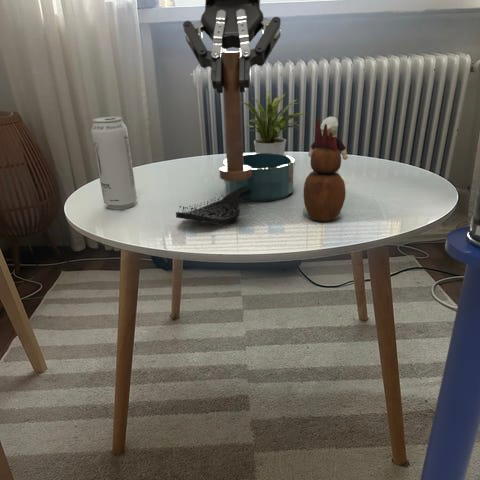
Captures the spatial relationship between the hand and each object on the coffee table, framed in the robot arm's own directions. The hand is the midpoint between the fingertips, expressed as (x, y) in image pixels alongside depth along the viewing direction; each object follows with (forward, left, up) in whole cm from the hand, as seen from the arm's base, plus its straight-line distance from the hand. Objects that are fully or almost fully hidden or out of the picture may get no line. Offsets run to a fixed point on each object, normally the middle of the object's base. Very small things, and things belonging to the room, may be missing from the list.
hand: (230, 87), depth 64 cm
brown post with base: (+1, -2, -12) cm, 12 cm away
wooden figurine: (-9, -14, -21) cm, 26 cm away
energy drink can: (+28, -6, -21) cm, 35 cm away
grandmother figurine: (-2, -33, -21) cm, 39 cm away
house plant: (+14, -39, -21) cm, 47 cm away
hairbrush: (+8, -11, -21) cm, 25 cm away
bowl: (+8, -23, -21) cm, 32 cm away
